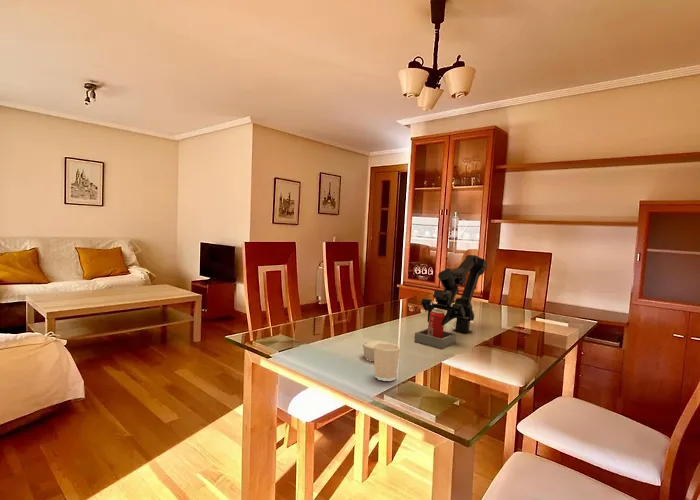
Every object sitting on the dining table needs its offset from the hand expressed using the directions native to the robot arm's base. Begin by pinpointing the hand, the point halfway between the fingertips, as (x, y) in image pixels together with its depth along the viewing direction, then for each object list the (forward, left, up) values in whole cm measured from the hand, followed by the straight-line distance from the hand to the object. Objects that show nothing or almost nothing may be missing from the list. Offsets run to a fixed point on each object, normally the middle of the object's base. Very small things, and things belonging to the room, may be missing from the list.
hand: (435, 323), depth 158 cm
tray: (-1, 0, -8) cm, 8 cm away
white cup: (+44, +18, -9) cm, 48 cm away
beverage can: (-1, -1, -7) cm, 7 cm away
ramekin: (+34, +3, -9) cm, 35 cm away
